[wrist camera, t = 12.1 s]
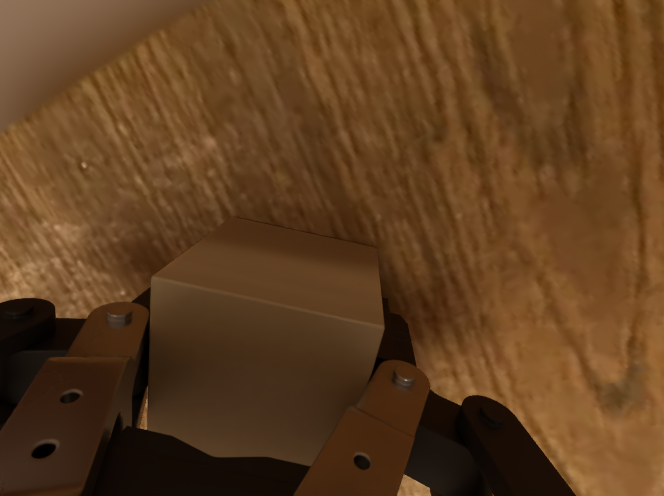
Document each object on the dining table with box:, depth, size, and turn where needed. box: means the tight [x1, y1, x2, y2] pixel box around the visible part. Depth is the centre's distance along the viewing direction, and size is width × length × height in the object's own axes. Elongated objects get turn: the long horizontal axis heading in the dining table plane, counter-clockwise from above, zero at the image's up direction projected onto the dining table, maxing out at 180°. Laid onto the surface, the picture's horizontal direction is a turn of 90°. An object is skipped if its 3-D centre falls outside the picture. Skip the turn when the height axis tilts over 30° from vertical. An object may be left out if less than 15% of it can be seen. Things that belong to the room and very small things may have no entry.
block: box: [147, 217, 385, 466], centre depth 11 cm, size 5×5×5 cm
